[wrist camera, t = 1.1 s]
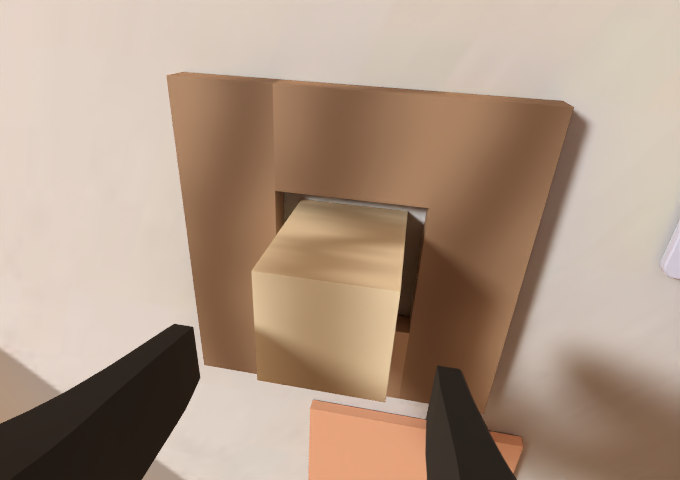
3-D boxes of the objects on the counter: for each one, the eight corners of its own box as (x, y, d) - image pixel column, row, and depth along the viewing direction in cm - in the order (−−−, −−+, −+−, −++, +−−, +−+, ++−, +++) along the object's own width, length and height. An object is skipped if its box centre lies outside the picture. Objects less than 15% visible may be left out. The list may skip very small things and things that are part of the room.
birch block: (407, 211, 18) (400, 291, 12) (395, 300, 20) (385, 402, 14) (301, 198, 18) (251, 270, 13) (300, 286, 20) (257, 379, 15)
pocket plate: (563, 100, 15) (573, 106, 14) (480, 393, 21) (484, 413, 20) (183, 72, 16) (166, 75, 15) (214, 349, 23) (204, 364, 22)
